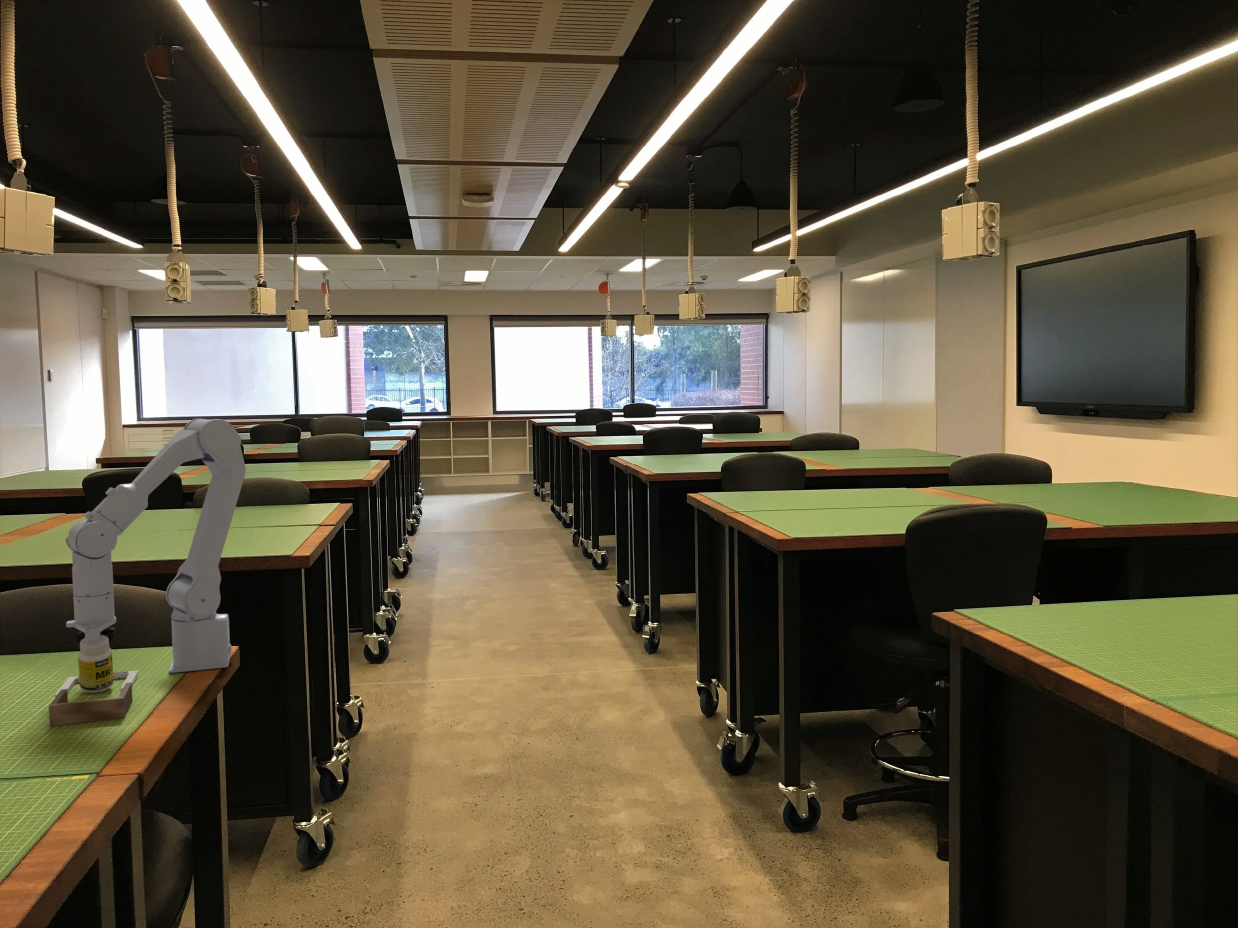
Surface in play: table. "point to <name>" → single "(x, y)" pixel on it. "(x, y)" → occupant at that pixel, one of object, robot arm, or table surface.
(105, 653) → the supplement bottle
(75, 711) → the holder
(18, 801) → the table surface
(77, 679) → the dock
